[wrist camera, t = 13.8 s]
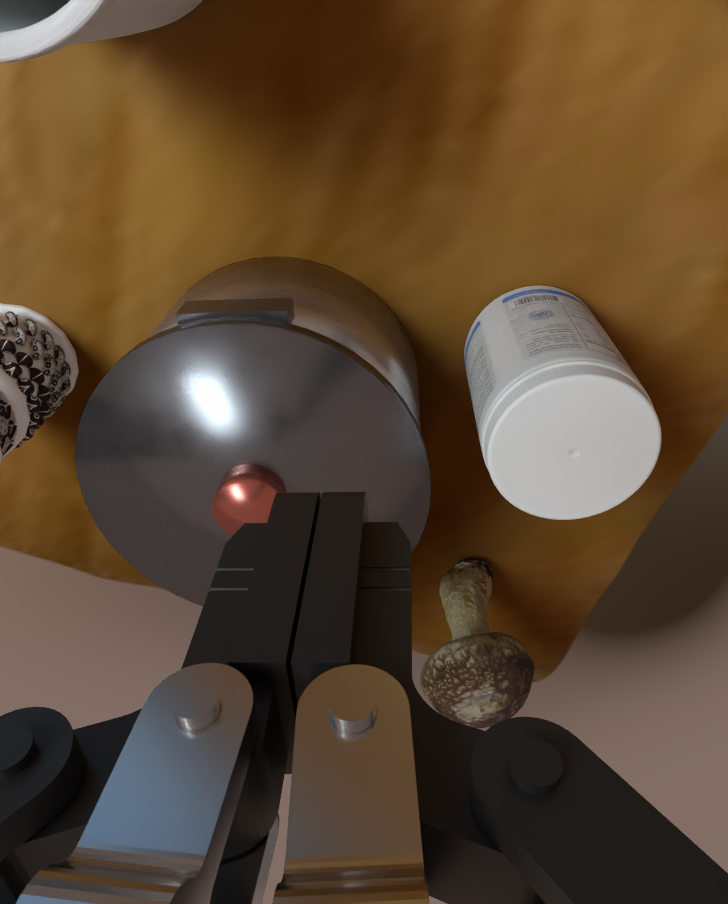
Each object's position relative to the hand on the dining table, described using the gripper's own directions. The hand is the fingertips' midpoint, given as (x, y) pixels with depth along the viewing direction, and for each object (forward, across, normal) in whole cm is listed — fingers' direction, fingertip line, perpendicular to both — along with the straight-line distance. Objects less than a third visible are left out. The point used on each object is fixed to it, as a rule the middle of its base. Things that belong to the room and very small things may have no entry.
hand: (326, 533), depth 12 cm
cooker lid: (+25, +8, +17) cm, 31 cm away
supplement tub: (+37, -10, +13) cm, 41 cm away
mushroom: (+37, -6, +34) cm, 51 cm away
